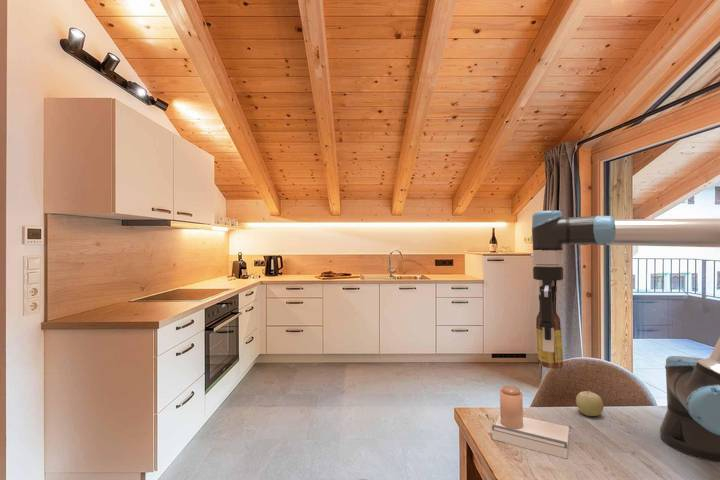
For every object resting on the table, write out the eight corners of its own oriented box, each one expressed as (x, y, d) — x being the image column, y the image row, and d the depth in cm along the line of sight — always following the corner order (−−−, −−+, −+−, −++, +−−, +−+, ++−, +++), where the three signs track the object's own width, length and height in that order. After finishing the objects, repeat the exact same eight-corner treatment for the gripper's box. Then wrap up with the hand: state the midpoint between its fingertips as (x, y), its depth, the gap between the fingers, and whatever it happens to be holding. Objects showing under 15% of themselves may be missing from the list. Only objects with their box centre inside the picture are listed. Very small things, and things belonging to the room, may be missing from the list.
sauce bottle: (558, 363, 102) (557, 293, 102) (566, 370, 96) (565, 296, 96) (534, 361, 103) (532, 293, 104) (540, 368, 97) (539, 295, 97)
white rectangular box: (569, 435, 100) (568, 422, 100) (567, 459, 89) (566, 444, 89) (501, 420, 110) (501, 408, 110) (492, 439, 99) (492, 425, 99)
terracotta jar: (524, 422, 103) (523, 387, 104) (521, 431, 98) (520, 394, 98) (502, 417, 106) (501, 383, 107) (498, 425, 101) (497, 390, 102)
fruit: (606, 421, 108) (605, 395, 108) (578, 417, 111) (577, 391, 111) (600, 411, 115) (599, 386, 115) (574, 407, 118) (573, 383, 118)
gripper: (537, 264, 110) (538, 339, 109) (528, 267, 94) (530, 354, 93) (564, 264, 106) (566, 342, 105) (560, 267, 90) (563, 359, 89)
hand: (549, 348), depth 99 cm, fingers closed on sauce bottle, 6 cm apart
